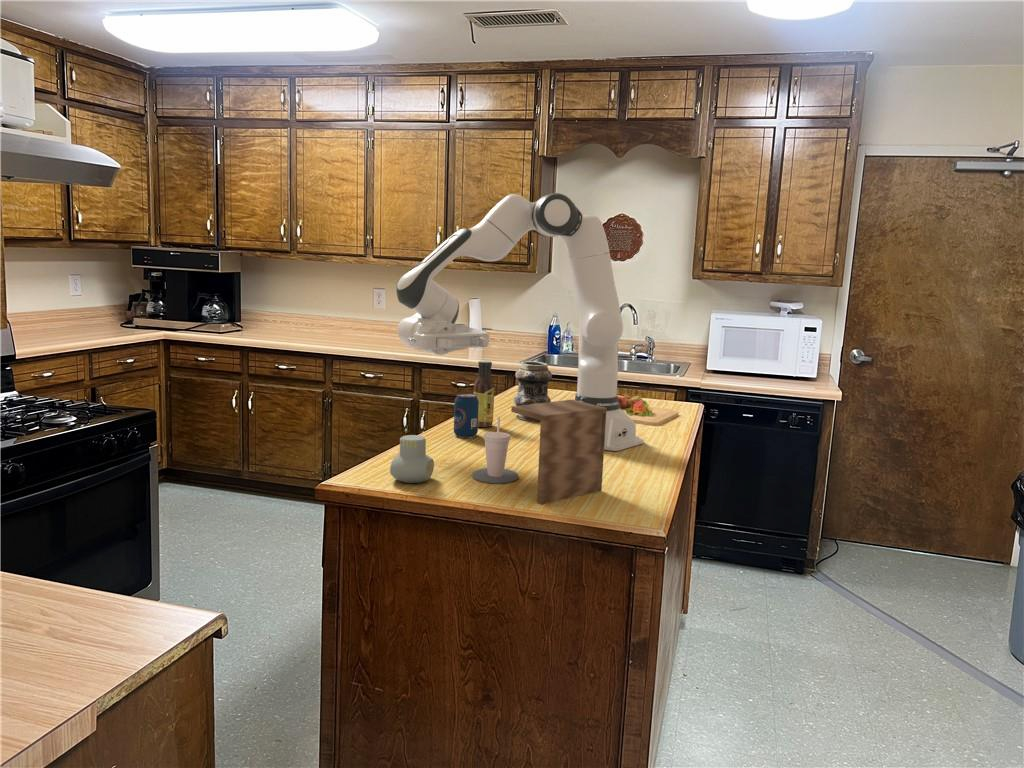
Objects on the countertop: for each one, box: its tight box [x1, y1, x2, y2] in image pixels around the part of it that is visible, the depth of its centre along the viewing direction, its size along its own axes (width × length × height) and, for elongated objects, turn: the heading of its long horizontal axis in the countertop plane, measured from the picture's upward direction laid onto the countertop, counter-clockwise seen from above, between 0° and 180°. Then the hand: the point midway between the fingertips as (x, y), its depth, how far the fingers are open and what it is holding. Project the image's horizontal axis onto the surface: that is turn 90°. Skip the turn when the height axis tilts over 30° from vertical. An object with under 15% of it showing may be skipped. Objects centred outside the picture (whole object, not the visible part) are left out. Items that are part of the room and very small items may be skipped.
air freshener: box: [389, 434, 435, 484], centre depth 180 cm, size 11×8×10 cm
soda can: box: [453, 392, 479, 438], centre depth 225 cm, size 7×7×12 cm
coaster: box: [471, 467, 520, 485], centre depth 186 cm, size 11×11×1 cm
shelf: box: [510, 399, 607, 505], centre depth 176 cm, size 18×11×19 cm, turn 128°
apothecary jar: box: [513, 360, 553, 422], centre depth 253 cm, size 12×12×18 cm
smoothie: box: [482, 416, 511, 477], centre depth 185 cm, size 6×6×14 cm
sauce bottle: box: [473, 360, 495, 428], centre depth 238 cm, size 7×6×20 cm
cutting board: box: [617, 394, 679, 427], centre depth 267 cm, size 35×23×8 cm
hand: (469, 343), depth 194 cm, fingers open, 8 cm apart
